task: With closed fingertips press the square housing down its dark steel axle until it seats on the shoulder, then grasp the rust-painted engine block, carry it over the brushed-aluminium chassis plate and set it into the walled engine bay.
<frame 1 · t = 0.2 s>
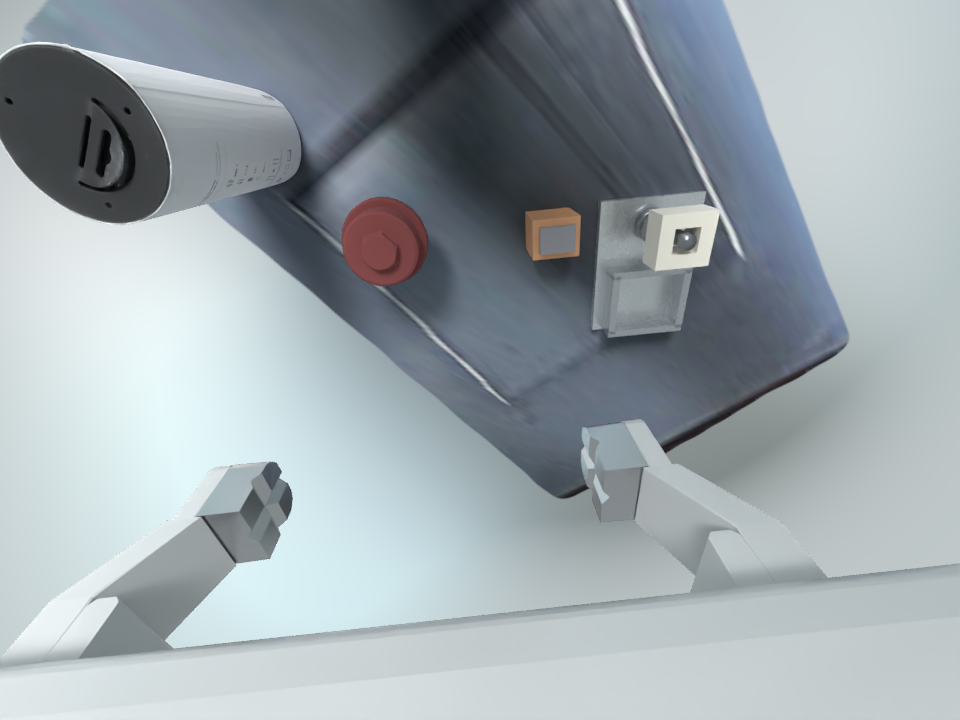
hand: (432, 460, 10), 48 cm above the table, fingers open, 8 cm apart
square housing: (678, 237, 46), point 9 cm above the table, slide at 0.0 cm
chassis: (641, 264, 57), on the table
mechanical component: (394, 228, 53), on the table
speaker: (260, 138, 47), on the table
block: (546, 228, 54), on the table
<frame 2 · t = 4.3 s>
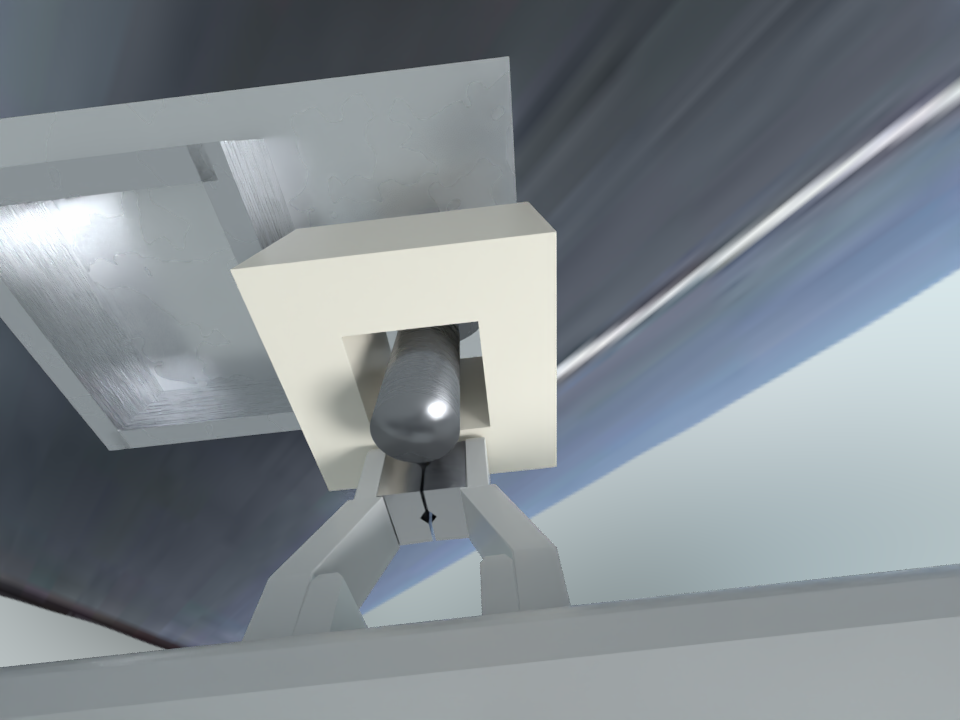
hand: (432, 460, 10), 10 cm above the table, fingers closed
square housing: (427, 348, 11), point 8 cm above the table, slide at 1.0 cm, touching gripper
chassis: (311, 276, 18), on the table
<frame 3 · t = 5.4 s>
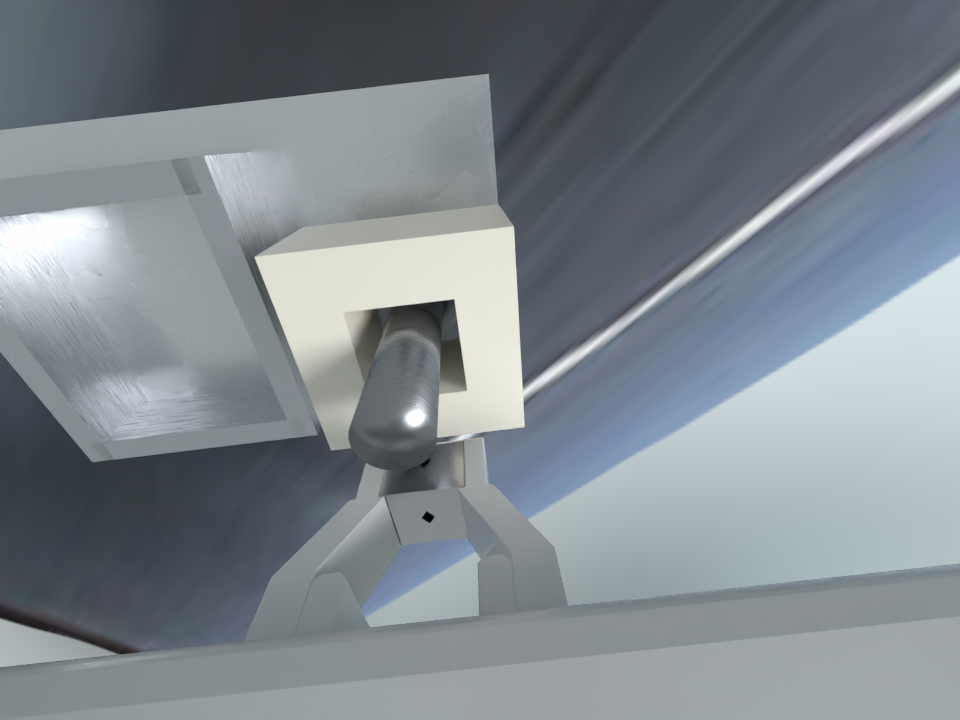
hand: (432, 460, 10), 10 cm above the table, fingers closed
square housing: (414, 327, 13), point 6 cm above the table, slide at 3.0 cm
chassis: (297, 286, 18), on the table
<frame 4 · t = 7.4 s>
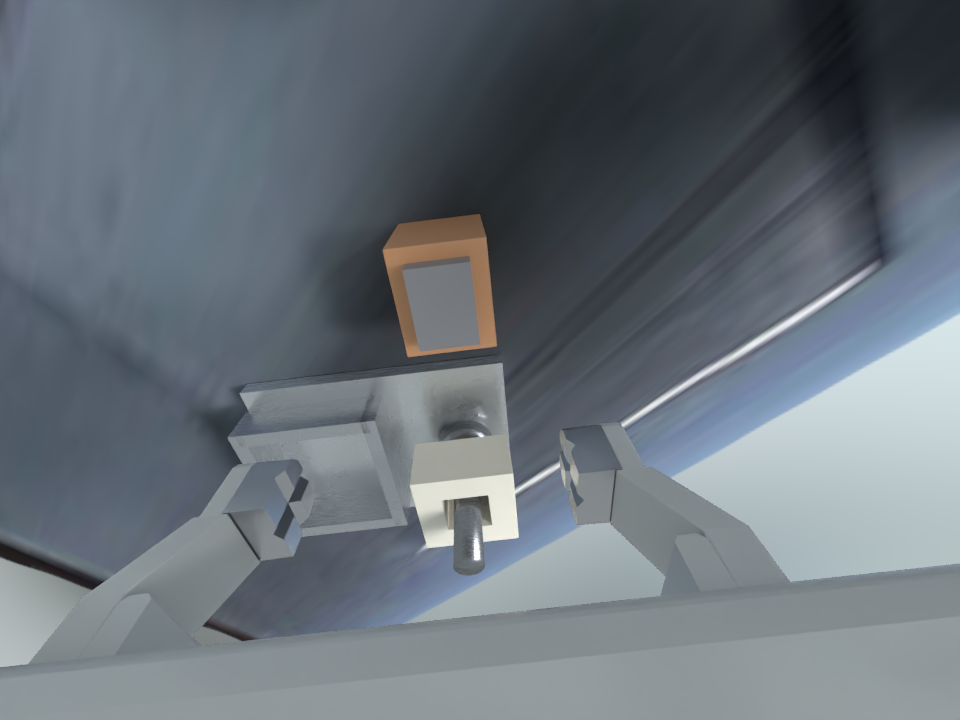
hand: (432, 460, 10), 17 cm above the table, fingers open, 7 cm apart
square housing: (467, 491, 27), point 6 cm above the table, slide at 3.0 cm
chassis: (394, 439, 32), on the table
block: (446, 266, 25), on the table
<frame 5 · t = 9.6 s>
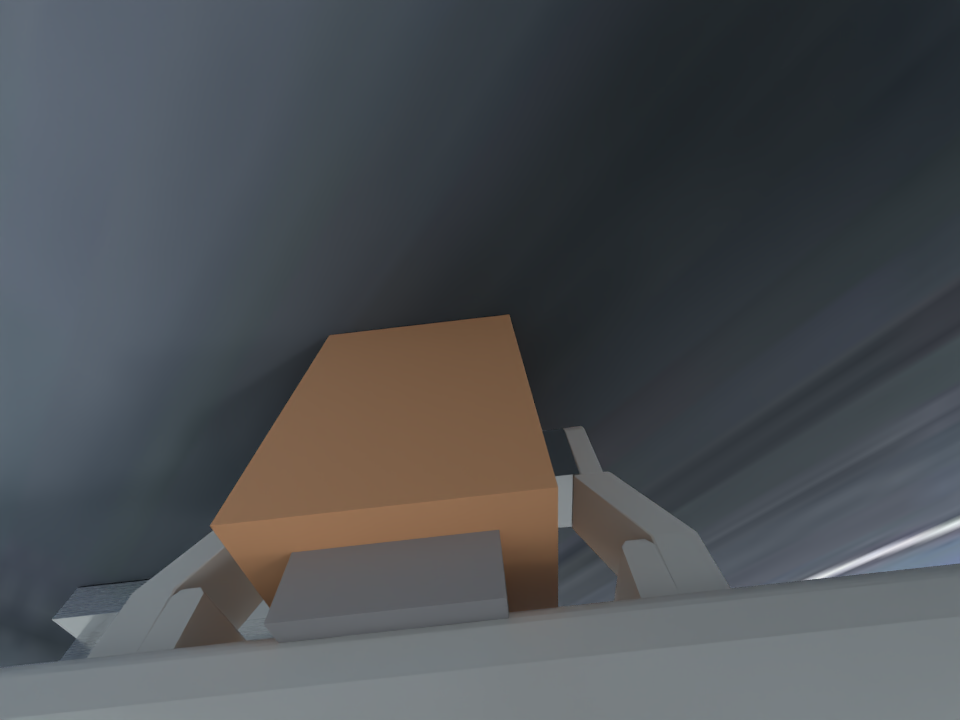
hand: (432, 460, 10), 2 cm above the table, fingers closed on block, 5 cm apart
chassis: (352, 644, 19), on the table
block: (436, 410, 12), on the table, touching gripper
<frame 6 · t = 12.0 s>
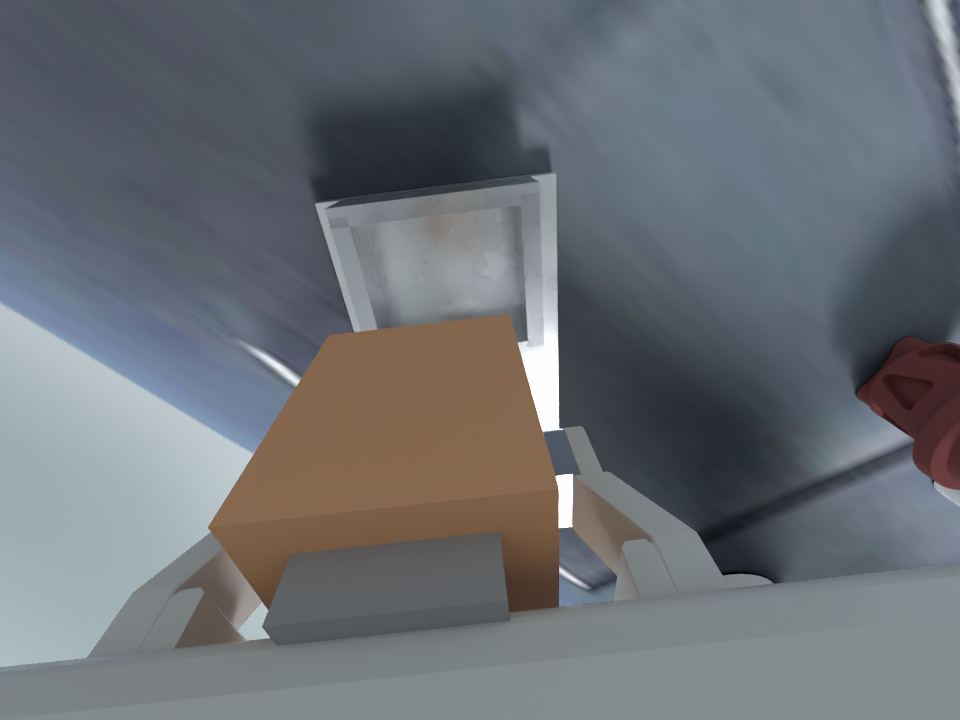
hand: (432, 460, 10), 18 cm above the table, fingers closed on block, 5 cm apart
chassis: (457, 328, 28), on the table
mechanical component: (893, 369, 32), on the table
block: (436, 410, 12), point 16 cm above the table, touching gripper
when the fingers open (5 cm above the table, at t = 14.8 s): block drops 1 cm, resting on chassis.
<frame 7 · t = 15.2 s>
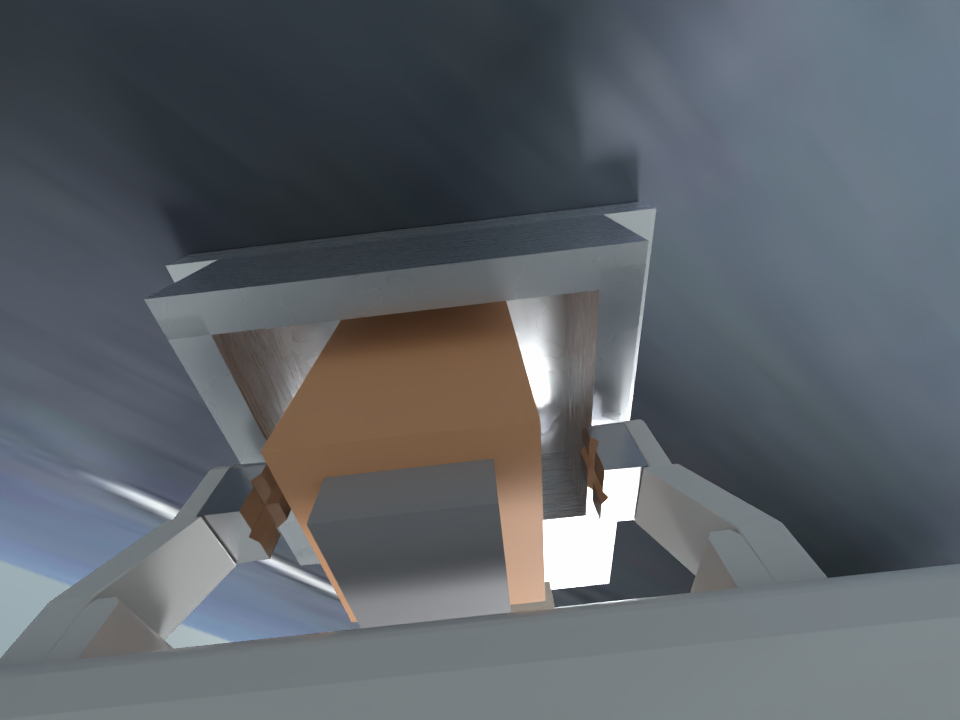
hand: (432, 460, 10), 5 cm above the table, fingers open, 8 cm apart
square housing: (475, 685, 15), point 6 cm above the table, slide at 3.0 cm
chassis: (455, 451, 17), on the table
block: (439, 383, 14), point 1 cm above the table, touching chassis
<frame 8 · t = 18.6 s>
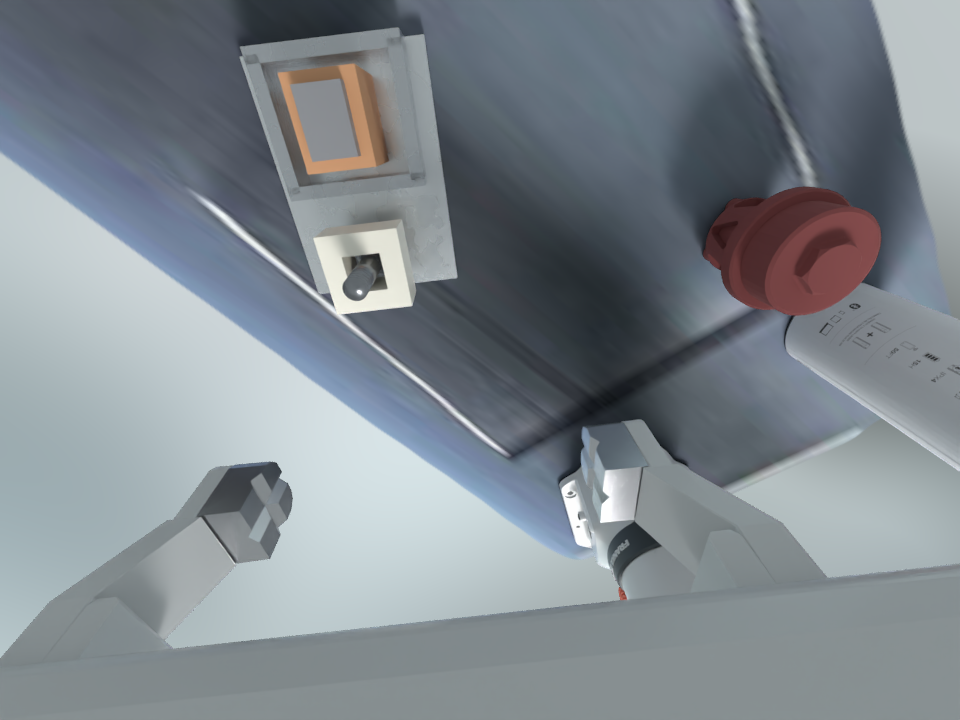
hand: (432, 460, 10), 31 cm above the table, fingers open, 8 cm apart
square housing: (369, 266, 33), point 6 cm above the table, slide at 3.0 cm
chassis: (366, 181, 35), on the table
mechanical component: (730, 231, 39), on the table
speaker: (826, 323, 45), on the table
block: (350, 123, 32), point 1 cm above the table, touching chassis
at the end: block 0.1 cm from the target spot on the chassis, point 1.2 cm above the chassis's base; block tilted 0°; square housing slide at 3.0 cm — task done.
